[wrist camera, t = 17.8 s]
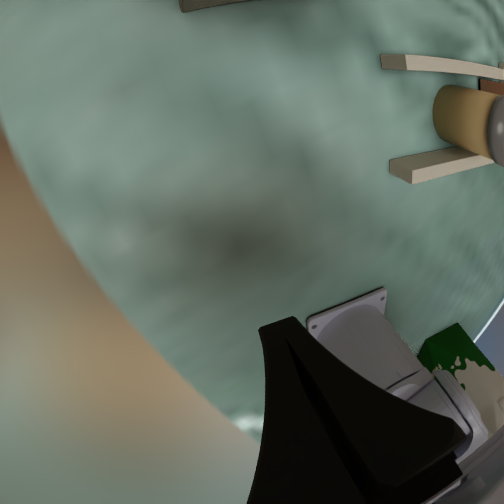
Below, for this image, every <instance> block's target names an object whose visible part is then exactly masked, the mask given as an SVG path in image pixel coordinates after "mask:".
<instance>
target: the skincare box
mask: <svg viewBox="0 0 504 504" xmlns="http://www.w3.org/2000/svg"><path fill="white" fill-rule="evenodd" d="M239 1H246V0H179V4H180V8H181V11H182V12H188V11H192V10H196V9H201V8H206V7H210V6H216V5H221V4H227V3H233V2H239Z"/></svg>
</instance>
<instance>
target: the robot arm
mask: <svg viewBox="0 0 504 504" xmlns="http://www.w3.org/2000/svg"><path fill="white" fill-rule="evenodd" d="M386 298H387V290H386V289H385V288H381V289H379V290H376V291H374V292H372V293H369V294H367V295H365V296H362V297H360V298H358V299H355V300H353V301H350V302H348V303H345V304H343V305H340V306H338V307H335V308H333V309H330V310H328V311H325V312H323V313H320V314H317V315H315V316H312V317H310V318H309V319H308V320H307V327H308V331H307V330H306V329H305V328H304V326H303V325H302V324H301V323H300V322H299V321H298V320H297V318H296V317H294V316H291V317H288V318H285V319H283V320H280V321H277V322H274V323H271V324H268V325H265V326H262V327H260V328H259V330H258V332H259V335H260V339H261V342H262V347H263V354H264V364H265V412H264V423H263V432H262V439H261V446H260V452H259V457H258V462H257V466H256V471H255V476H254V480H253V484H252V487H251V491H250V495H249V497H248V501H247V504H504V425H503V426H502V427H501V428H500V429H499V430H498V431H497V432H496V433H495V434H493V435H492V436H491V437H490V438H488V436H487V435H488V433H489V432H488V430H487V428H486V427H485V425H484V423H483V422H482V420H481V416H480V413H479V412H478V410H477V408H476V407H475V405H474V403H473V402H472V400H471V399H470V397H469V396H468V395H467V393H466V392H465V391H464V389H463V388H462V387H461V385H460V384H459V383H458V381H457V380H456V379H455V378H454V377H453V375H452V374H451V373H450V372H449V371H447V370H440V369H437V370H436V371H435V372H434V373H433V374H434V376H435V377H436V379H437V380H438V382H439V384H440V386H441V387H442V388H441V387H440V386H439V384H438V383H437V382H436V380H435V379H434V378H433V376H432V375H431V374H430V372H429V371H428V370H427V368H426V367H423V365H422V364H421V363H420V361H419V360H418V359H417V357H416V356H415V355H414V353H413V352H412V351H411V350H410V348H409V347H408V346H407V344H406V343H405V342H404V341H403V339H402V338H401V337H400V336H399V334H398V333H397V332H396V331H395V329H394V328H393V327H392V326H391V324H390V323H389V322H388V321H387V319H386V318H385V317H384V312H385V306H386ZM442 389H443V390H444V391H445V392H444V391H443V390H442ZM445 393H446V394H445ZM460 414H461V415H460Z"/></svg>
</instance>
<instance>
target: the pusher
mask: <svg viewBox="0 0 504 504" xmlns="http://www.w3.org/2000/svg"><path fill="white" fill-rule="evenodd" d="M480 85H481V91H485V92H489V93H493V94H497V95H504V84H503V83H499V82H495V81H490V80H484V79H480Z"/></svg>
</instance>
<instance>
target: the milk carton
mask: <svg viewBox="0 0 504 504" xmlns="http://www.w3.org/2000/svg"><path fill="white" fill-rule="evenodd" d="M417 359H418V360H419V361H420V363H421V364H422V365H423V367H426V368H427V370H428V371H429V372H430V374H431V375H432V376H433V378H434V379H435V380H436V382H437V383H438V384H439V382H438V380H437V379H436V377H435V376H434V374H433V373H434V372H435V371H436V370H437V369H440V370H447V371H449V372H450V373H451V374H452V375H453V377H454V378H455V379H456V380H457V381H458V383H459V384H460V385H461V387H462V388H463V389H464V391H465V392H466V393H467V395H468V396H469V397H470V399H471V400H472V402H473V403H474V405H475V407H476V408H477V410H478V412H479V413H480V416H481V420H482V422H483V423H484V425H485V427H486V428H487V430H488V432H489V433H488V435H487V436H488V438H490V437H491V436H492V435H493V434H495V433H496V432H497V431H498V430H499V429H500V428H501V427H502V426H503V425H504V379H503V377H502V376H501V375H500V374H499V372H498V371H497V370H496V369H495V367H494V366H493V365H492V364H491V363H490V361H489V360H488V359H487V358H486V357H485V356H484V354H483V353H482V352H481V351H480V350H479V349H478V347H477V346H476V345H475V344H474V342H473V341H472V340H471V339H470V337H469V336H468V335H467V333H466V332H465V331H464V330H463V328H462V327H461V326H460V325H459V323H457V324H455V325H453V326H451V327H449V328H447V329H446V330H444V331H442V332H440V333H438V334H436V335H434V336H432V337H430V338H428V339H426V341H425V343H424V345H423V347H422V350H421V352H420V354H419V356H418V358H417ZM439 386H440V384H439ZM440 387H441V386H440ZM441 388H442V387H441ZM442 390H443V389H442ZM443 391H444V390H443ZM444 392H445V391H444ZM445 394H446V393H445ZM460 415H461V414H460Z"/></svg>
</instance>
